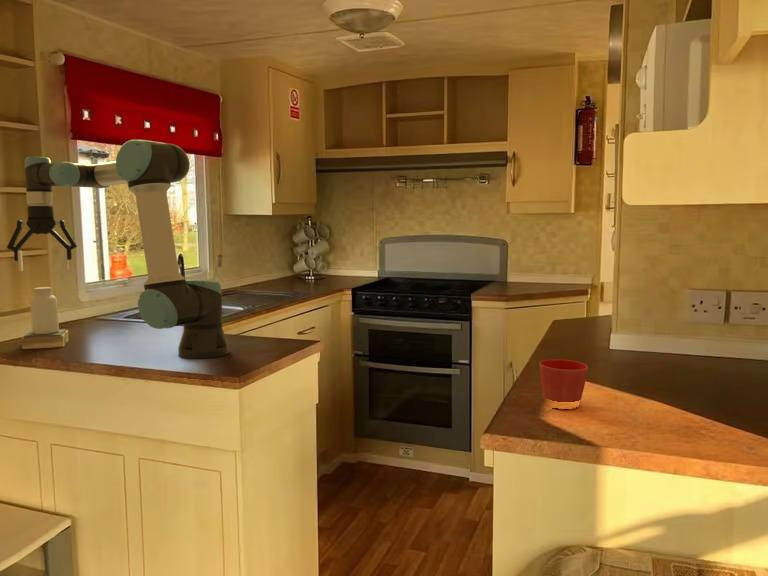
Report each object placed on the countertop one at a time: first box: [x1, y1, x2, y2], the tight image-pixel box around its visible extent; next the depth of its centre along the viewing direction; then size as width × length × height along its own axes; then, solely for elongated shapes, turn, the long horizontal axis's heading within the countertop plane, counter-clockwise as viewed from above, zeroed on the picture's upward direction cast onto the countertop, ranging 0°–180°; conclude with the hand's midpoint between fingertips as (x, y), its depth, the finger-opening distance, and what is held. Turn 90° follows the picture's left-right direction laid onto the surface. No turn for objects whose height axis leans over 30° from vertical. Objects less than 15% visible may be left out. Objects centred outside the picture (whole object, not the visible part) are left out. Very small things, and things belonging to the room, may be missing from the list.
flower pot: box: [538, 358, 589, 411], centre depth 149 cm, size 11×11×10 cm
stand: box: [21, 328, 70, 350], centre depth 217 cm, size 12×12×4 cm
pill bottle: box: [29, 286, 60, 334], centre depth 216 cm, size 8×8×15 cm
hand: (44, 270), depth 214 cm, fingers open, 13 cm apart
